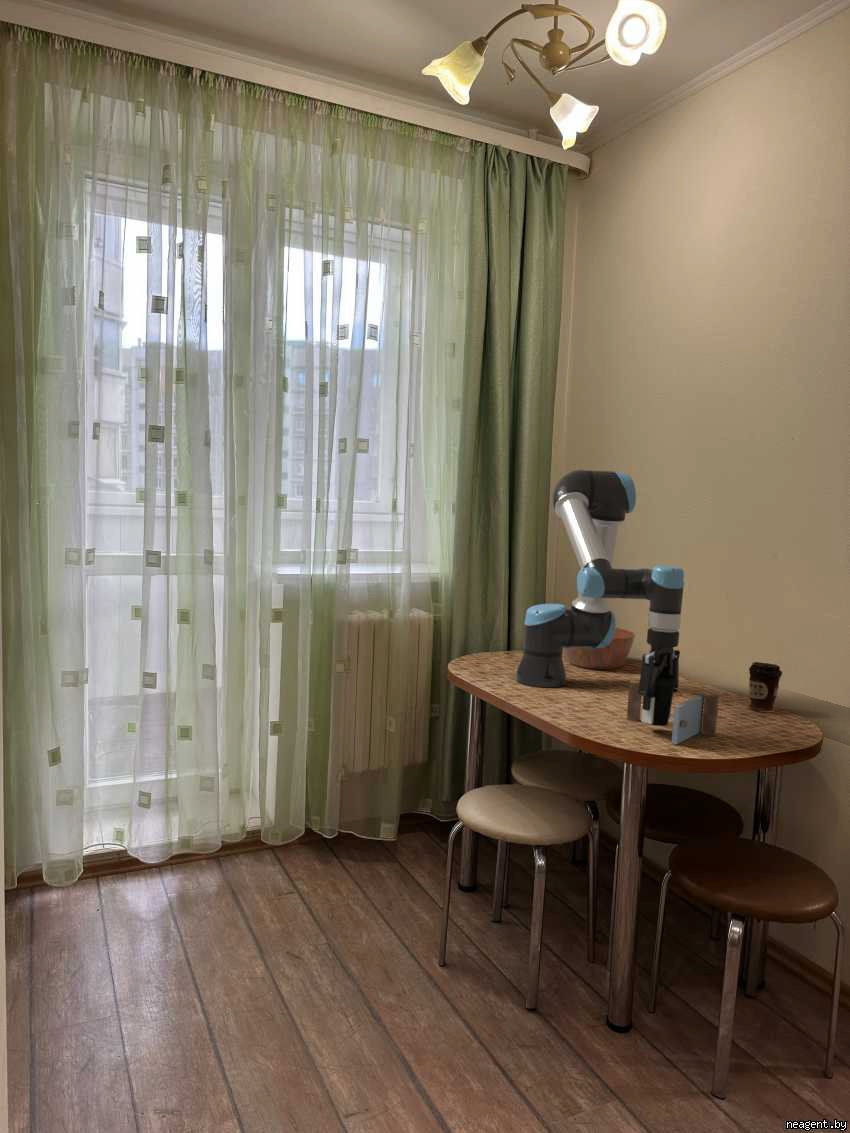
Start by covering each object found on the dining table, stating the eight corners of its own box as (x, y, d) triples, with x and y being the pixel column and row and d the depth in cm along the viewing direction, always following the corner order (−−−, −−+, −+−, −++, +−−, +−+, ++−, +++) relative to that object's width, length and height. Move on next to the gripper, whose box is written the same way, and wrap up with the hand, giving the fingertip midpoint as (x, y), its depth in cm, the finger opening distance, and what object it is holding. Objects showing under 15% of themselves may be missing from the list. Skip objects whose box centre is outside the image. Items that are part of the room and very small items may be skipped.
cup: (635, 717, 216) (639, 671, 215) (665, 718, 217) (669, 672, 216) (646, 726, 209) (650, 678, 208) (676, 727, 209) (680, 679, 208)
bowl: (543, 664, 285) (546, 630, 284) (575, 653, 305) (578, 621, 304) (614, 677, 271) (617, 641, 270) (643, 665, 291) (646, 632, 290)
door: (696, 731, 215) (700, 692, 214) (706, 733, 214) (709, 694, 213) (671, 744, 203) (674, 702, 202) (681, 746, 202) (684, 705, 201)
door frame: (626, 719, 222) (629, 681, 221) (629, 717, 224) (632, 680, 223) (713, 736, 211) (717, 696, 210) (715, 734, 213) (719, 695, 212)
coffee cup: (762, 715, 234) (766, 668, 233) (738, 707, 241) (742, 661, 240) (784, 712, 238) (788, 666, 237) (760, 704, 245) (764, 660, 244)
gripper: (671, 623, 220) (664, 710, 223) (627, 630, 206) (620, 722, 208) (698, 628, 215) (690, 716, 217) (654, 635, 201) (647, 730, 203)
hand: (656, 719), depth 213 cm, fingers closed on cup, 8 cm apart
